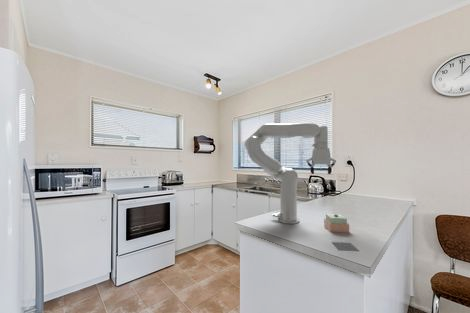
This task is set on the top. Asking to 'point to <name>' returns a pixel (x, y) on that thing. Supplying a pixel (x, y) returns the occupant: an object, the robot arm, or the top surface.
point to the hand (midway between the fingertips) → (320, 173)
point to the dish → (336, 226)
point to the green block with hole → (336, 218)
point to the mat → (344, 246)
